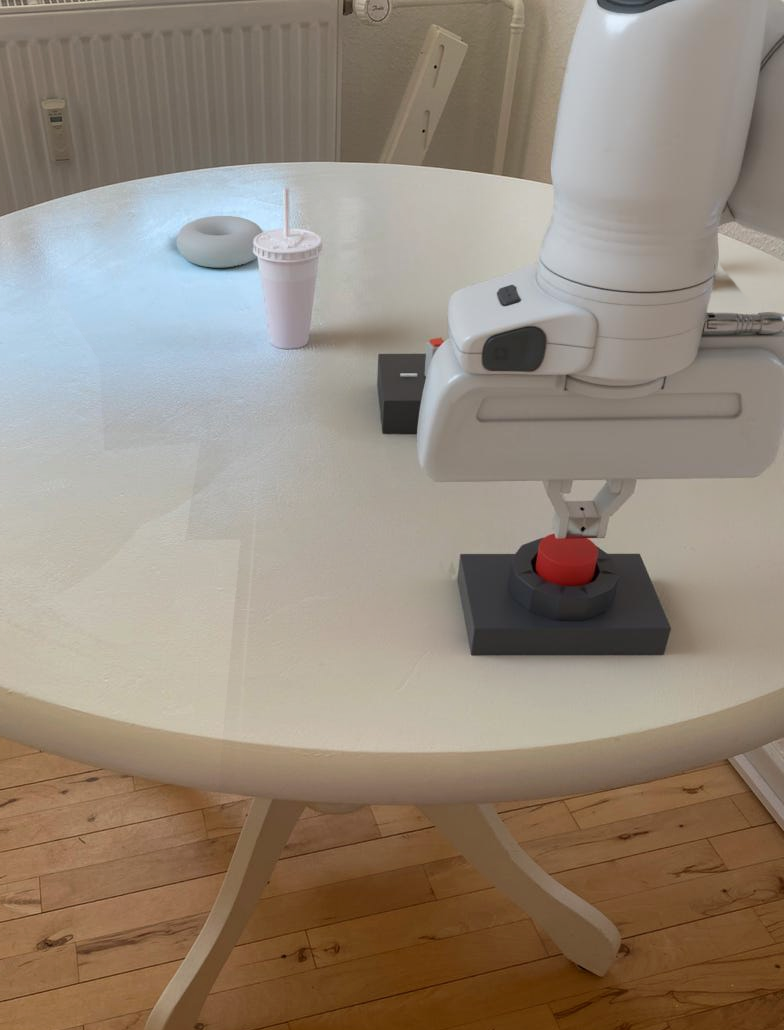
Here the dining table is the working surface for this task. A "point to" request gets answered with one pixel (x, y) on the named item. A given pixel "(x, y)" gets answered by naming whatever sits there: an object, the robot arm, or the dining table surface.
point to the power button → (566, 560)
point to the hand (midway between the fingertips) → (577, 533)
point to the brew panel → (400, 391)
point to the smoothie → (288, 279)
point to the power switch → (560, 607)
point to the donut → (218, 241)
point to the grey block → (432, 351)
